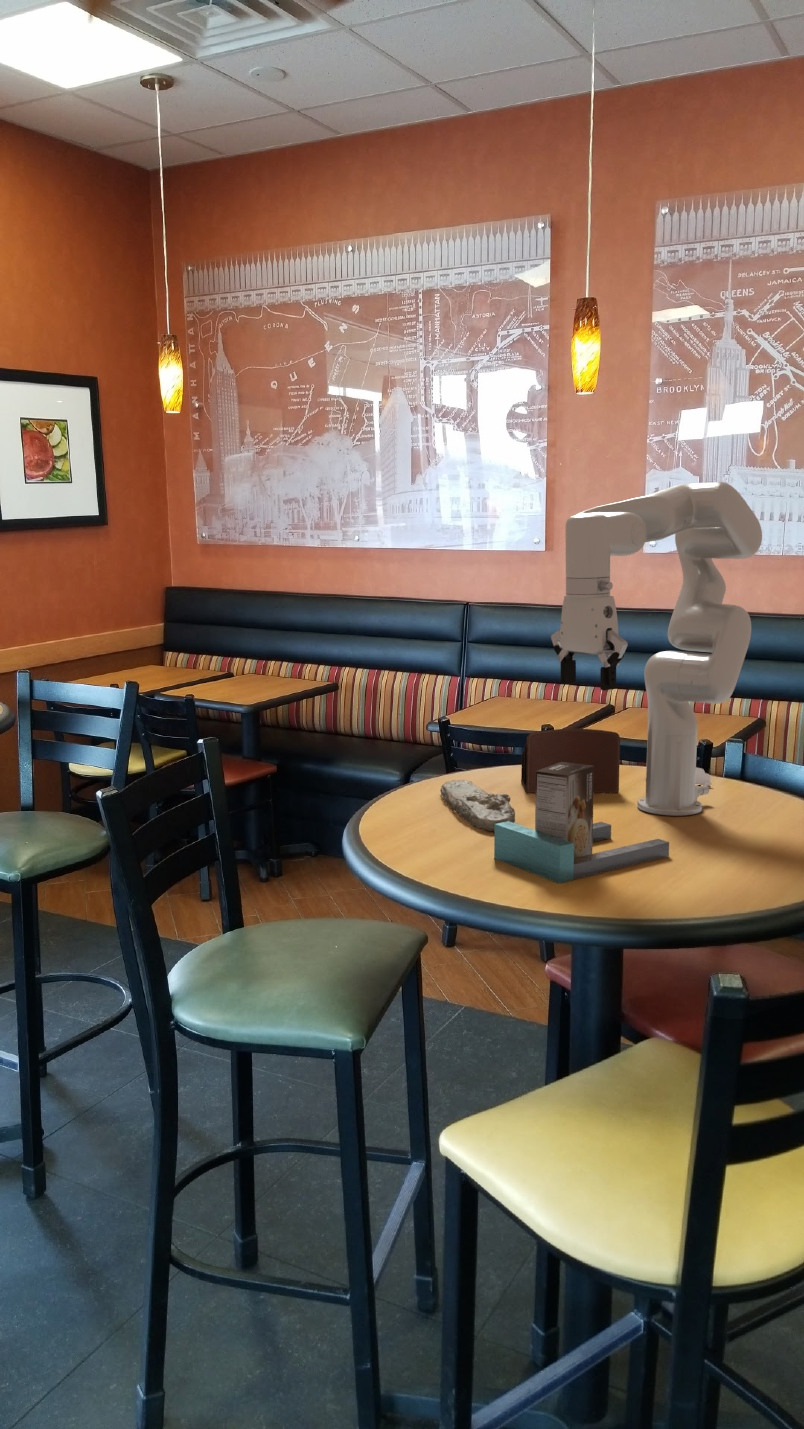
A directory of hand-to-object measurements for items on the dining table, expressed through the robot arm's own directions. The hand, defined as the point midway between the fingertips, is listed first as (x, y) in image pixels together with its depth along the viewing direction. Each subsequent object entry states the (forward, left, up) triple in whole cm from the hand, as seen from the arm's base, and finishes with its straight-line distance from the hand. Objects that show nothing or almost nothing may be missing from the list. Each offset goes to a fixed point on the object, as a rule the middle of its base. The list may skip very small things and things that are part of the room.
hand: (587, 686), depth 181 cm
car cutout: (-49, -21, -29) cm, 61 cm away
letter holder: (-26, -31, -28) cm, 50 cm away
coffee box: (+12, +7, -28) cm, 31 cm away
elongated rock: (+3, -28, -29) cm, 40 cm away
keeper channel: (+8, +7, -28) cm, 30 cm away
